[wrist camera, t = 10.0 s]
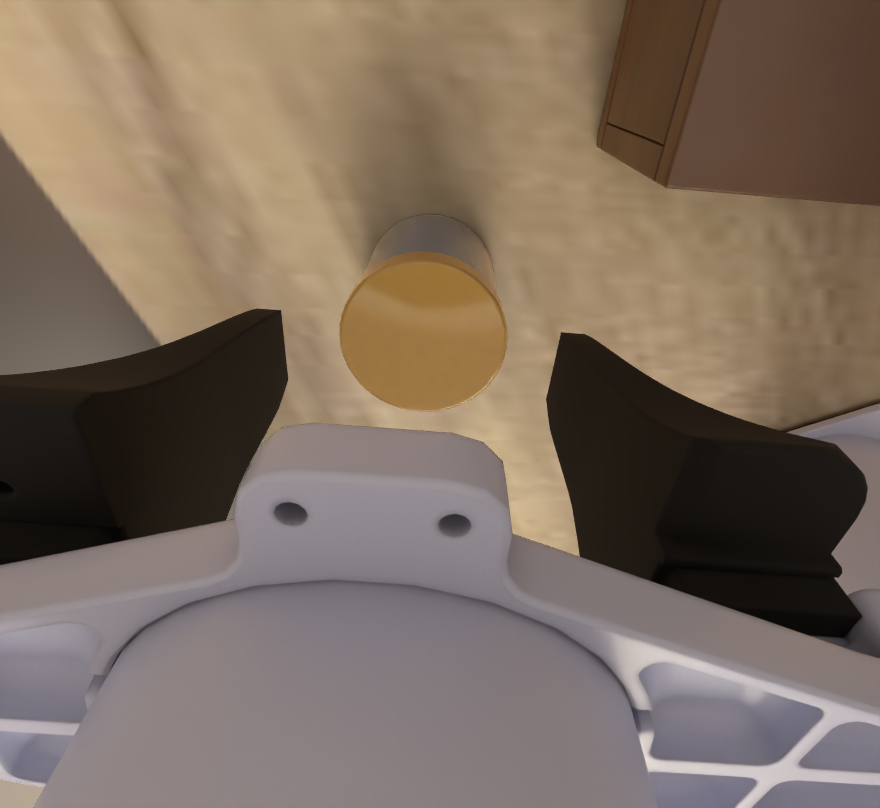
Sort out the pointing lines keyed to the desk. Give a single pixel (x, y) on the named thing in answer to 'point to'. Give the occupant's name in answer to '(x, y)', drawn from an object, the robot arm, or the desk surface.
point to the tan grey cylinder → (425, 317)
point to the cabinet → (749, 97)
